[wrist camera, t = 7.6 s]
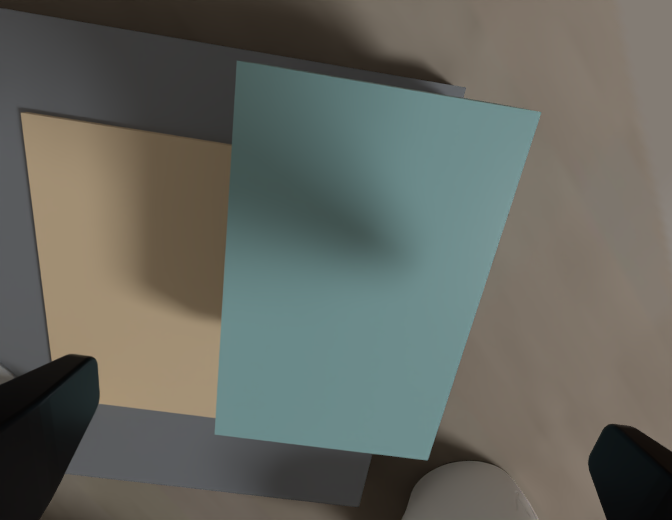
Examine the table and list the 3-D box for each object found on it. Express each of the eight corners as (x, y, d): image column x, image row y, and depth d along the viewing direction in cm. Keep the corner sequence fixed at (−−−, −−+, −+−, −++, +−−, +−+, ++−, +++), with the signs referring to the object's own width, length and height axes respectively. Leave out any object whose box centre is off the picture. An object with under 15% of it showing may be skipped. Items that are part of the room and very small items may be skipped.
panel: (357, 481, 23) (361, 558, 20) (-68, 431, 22) (-148, 502, 18) (454, 86, 16) (490, 90, 12) (-195, -25, 14) (-380, -59, 11)
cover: (413, 398, 16) (427, 460, 13) (234, 375, 16) (214, 434, 13) (497, 103, 12) (541, 112, 9) (259, 63, 12) (236, 60, 9)
